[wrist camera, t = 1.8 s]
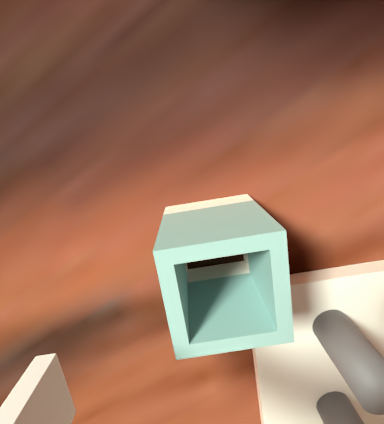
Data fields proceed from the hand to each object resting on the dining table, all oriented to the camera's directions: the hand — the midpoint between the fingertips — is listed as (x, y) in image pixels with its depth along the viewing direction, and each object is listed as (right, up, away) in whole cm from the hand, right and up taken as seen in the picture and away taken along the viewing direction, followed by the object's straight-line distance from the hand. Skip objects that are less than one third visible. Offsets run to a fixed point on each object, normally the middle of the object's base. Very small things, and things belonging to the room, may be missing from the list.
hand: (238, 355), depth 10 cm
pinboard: (+10, -7, +14) cm, 18 cm away
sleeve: (0, +3, +11) cm, 11 cm away
